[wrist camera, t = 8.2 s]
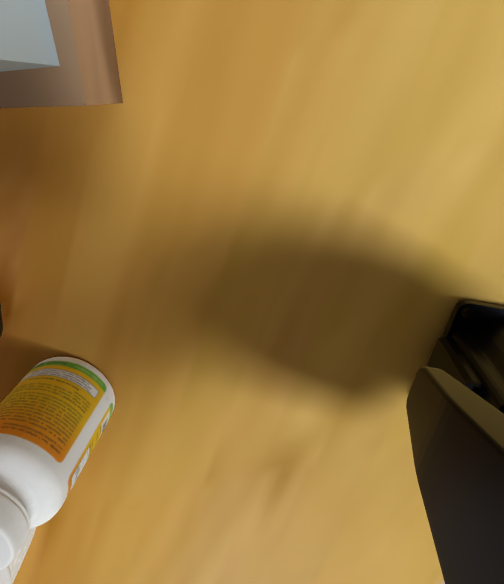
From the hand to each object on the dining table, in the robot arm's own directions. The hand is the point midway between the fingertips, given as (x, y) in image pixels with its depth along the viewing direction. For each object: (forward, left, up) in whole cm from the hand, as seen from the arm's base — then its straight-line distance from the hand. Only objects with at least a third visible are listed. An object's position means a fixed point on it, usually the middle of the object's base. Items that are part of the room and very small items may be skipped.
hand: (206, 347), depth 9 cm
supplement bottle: (+9, +13, -13) cm, 20 cm away
